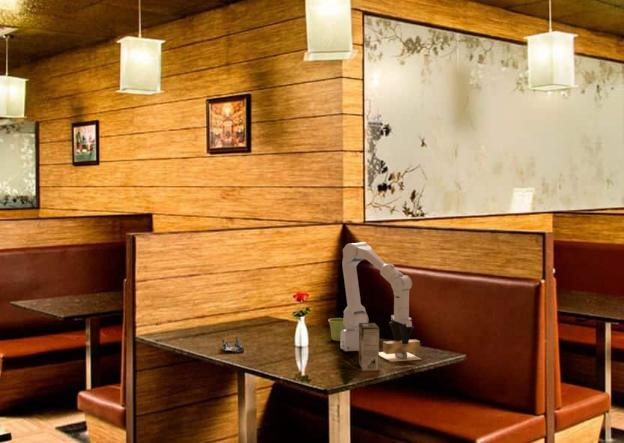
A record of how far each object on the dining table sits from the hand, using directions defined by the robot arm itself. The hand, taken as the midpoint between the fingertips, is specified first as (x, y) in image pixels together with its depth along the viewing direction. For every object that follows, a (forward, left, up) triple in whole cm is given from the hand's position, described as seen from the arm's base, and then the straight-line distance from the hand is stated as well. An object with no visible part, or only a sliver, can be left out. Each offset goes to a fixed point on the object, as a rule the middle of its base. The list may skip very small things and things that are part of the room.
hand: (400, 341), depth 313 cm
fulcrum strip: (0, 0, -7) cm, 7 cm away
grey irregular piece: (-58, +35, -8) cm, 69 cm away
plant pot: (-10, +42, -7) cm, 44 cm away
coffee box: (-17, -8, -7) cm, 20 cm away
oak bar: (0, 0, -4) cm, 4 cm away
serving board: (0, +3, -7) cm, 7 cm away
